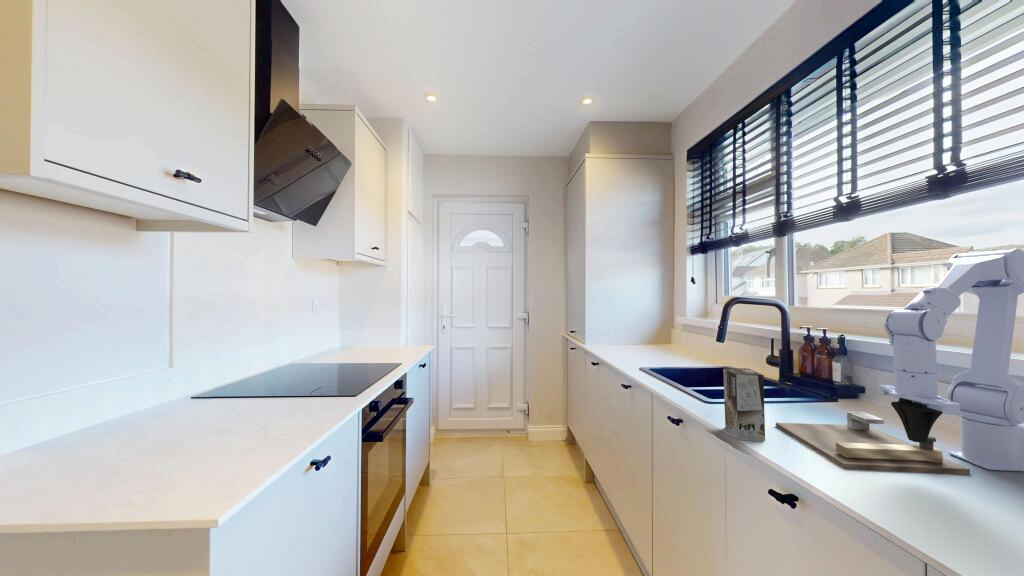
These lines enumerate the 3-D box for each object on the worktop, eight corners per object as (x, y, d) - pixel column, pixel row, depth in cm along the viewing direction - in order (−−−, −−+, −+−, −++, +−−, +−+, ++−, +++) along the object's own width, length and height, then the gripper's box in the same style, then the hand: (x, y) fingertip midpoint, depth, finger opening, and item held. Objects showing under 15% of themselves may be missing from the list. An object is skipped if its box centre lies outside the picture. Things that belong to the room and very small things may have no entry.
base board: (867, 429, 98) (866, 410, 98) (970, 474, 73) (968, 448, 73) (775, 426, 101) (775, 407, 101) (844, 468, 76) (843, 443, 76)
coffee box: (766, 442, 91) (764, 374, 91) (737, 440, 92) (735, 374, 92) (750, 429, 100) (749, 367, 100) (724, 427, 101) (722, 367, 101)
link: (928, 454, 80) (927, 433, 80) (949, 463, 75) (948, 440, 76) (833, 450, 82) (833, 429, 82) (848, 459, 78) (848, 437, 78)
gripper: (862, 364, 81) (864, 427, 81) (927, 378, 67) (929, 455, 67) (899, 364, 80) (901, 428, 80) (972, 379, 66) (975, 457, 66)
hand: (917, 441), depth 73 cm, fingers closed
